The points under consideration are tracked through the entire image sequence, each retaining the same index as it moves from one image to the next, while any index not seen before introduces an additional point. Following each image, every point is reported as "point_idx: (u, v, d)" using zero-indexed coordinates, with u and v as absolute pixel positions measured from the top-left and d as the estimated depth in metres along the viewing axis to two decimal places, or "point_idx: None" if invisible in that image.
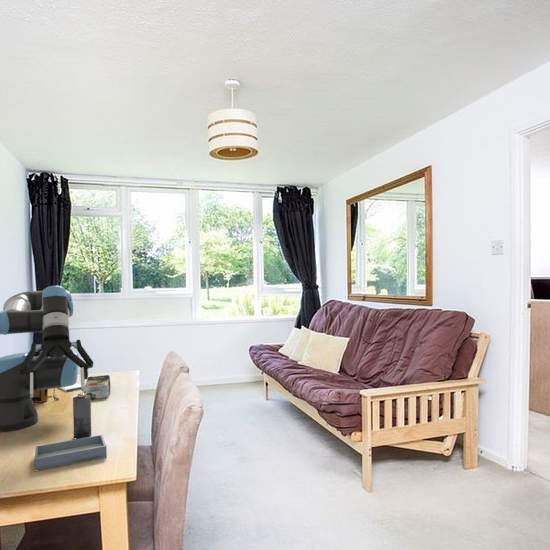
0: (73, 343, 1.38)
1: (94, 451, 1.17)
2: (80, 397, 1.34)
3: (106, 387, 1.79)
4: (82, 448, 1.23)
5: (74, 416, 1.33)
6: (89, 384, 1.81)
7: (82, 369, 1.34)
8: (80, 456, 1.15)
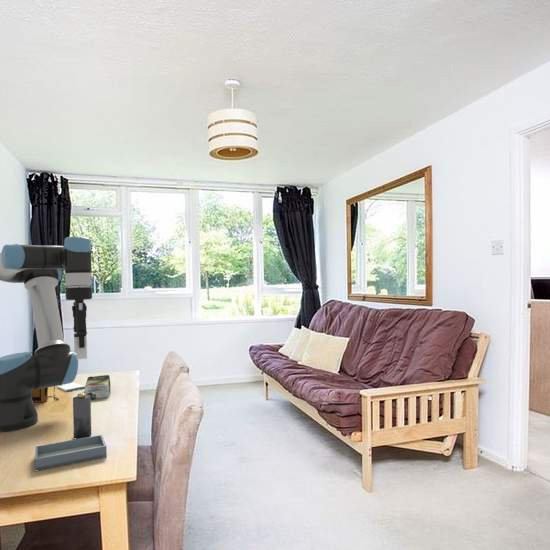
0: None
1: (94, 451, 1.17)
2: (80, 397, 1.34)
3: (106, 387, 1.79)
4: (82, 448, 1.23)
5: (74, 416, 1.33)
6: (89, 384, 1.81)
7: None
8: (80, 456, 1.15)
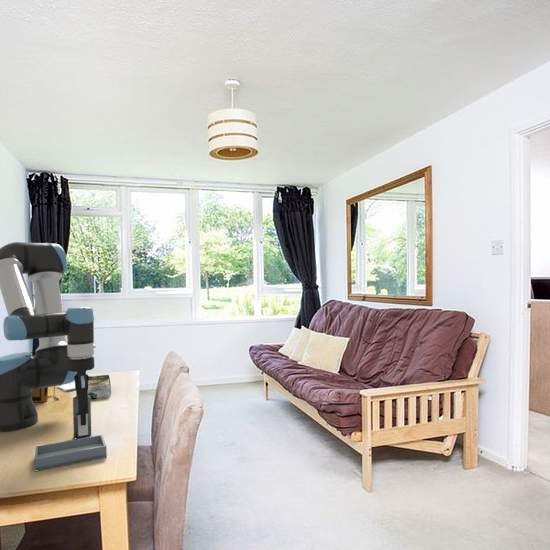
0: None
1: (94, 451, 1.17)
2: None
3: (107, 386, 1.80)
4: (82, 448, 1.23)
5: (74, 416, 1.33)
6: (90, 384, 1.81)
7: None
8: (80, 456, 1.15)
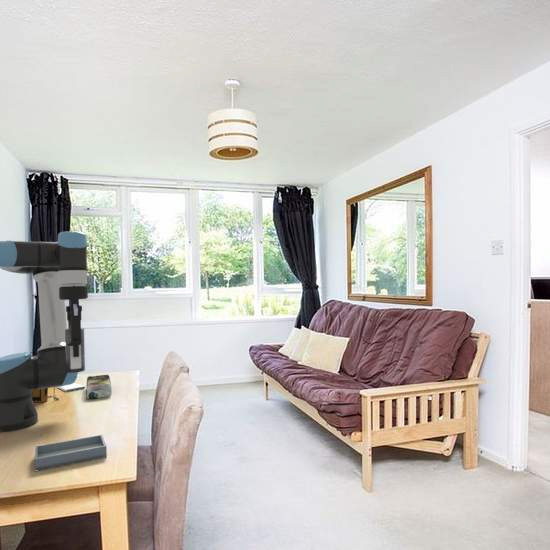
0: None
1: (94, 451, 1.17)
2: None
3: (108, 386, 1.80)
4: (82, 448, 1.23)
5: (66, 348, 1.23)
6: (91, 383, 1.82)
7: None
8: (80, 456, 1.15)
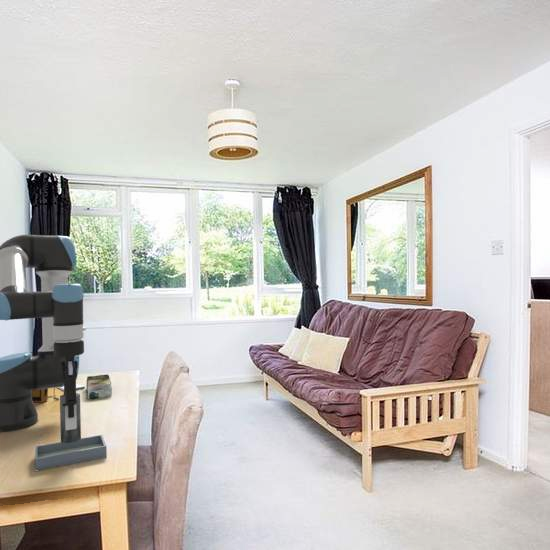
0: None
1: (94, 451, 1.17)
2: None
3: (109, 386, 1.81)
4: (82, 448, 1.23)
5: (61, 417, 1.17)
6: (91, 383, 1.82)
7: None
8: (80, 456, 1.15)
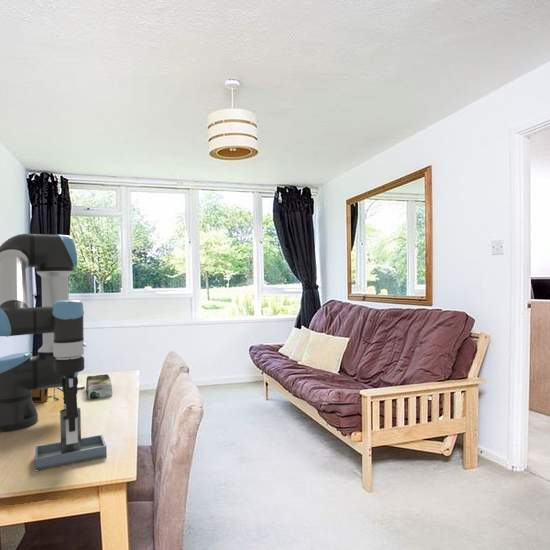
0: None
1: (94, 451, 1.17)
2: None
3: (110, 386, 1.81)
4: (82, 448, 1.23)
5: (61, 432, 1.17)
6: (91, 383, 1.82)
7: None
8: (80, 456, 1.15)
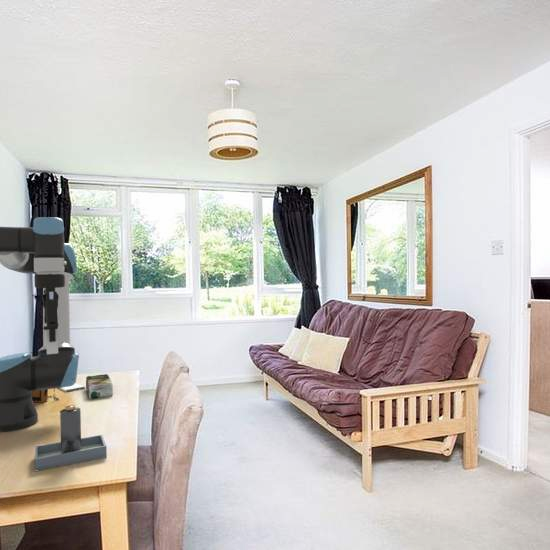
0: None
1: (94, 451, 1.17)
2: (68, 410, 1.17)
3: (110, 385, 1.82)
4: (82, 448, 1.23)
5: (61, 432, 1.17)
6: (92, 383, 1.83)
7: None
8: (80, 456, 1.15)
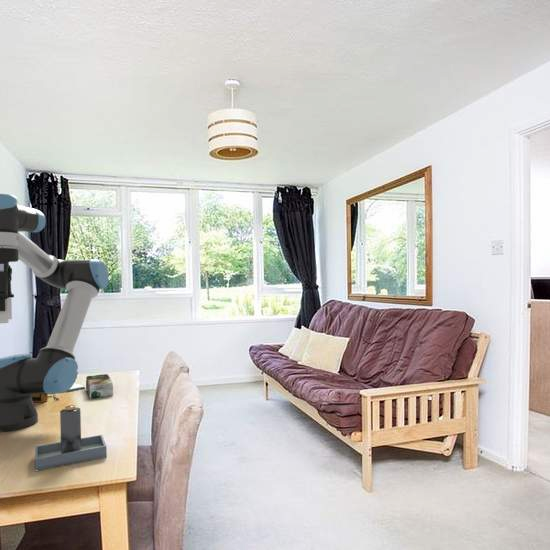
0: None
1: (94, 451, 1.17)
2: (68, 410, 1.17)
3: (111, 385, 1.82)
4: (82, 448, 1.23)
5: (61, 432, 1.17)
6: (92, 383, 1.83)
7: None
8: (80, 456, 1.15)
